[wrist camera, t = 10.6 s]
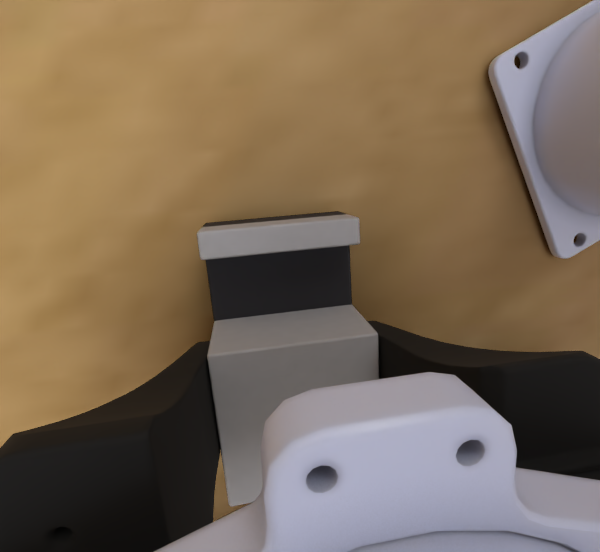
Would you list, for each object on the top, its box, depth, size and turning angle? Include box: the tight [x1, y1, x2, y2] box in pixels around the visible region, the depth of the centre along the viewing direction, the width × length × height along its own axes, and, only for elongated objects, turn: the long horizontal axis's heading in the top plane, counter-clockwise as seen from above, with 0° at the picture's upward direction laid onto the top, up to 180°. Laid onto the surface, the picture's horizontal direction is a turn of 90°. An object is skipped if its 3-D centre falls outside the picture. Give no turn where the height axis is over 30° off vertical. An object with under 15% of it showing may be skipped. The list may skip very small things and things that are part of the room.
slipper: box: [197, 211, 379, 506], centre depth 12 cm, size 8×5×4 cm, turn 4°
